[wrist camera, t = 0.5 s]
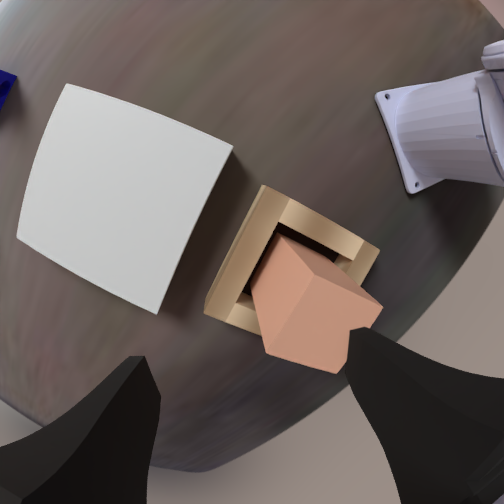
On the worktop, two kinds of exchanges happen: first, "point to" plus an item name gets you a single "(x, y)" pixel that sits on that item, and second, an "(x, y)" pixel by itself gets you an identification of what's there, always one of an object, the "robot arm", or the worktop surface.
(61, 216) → the platform
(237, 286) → the socket
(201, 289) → the worktop surface
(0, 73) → the cable clip
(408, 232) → the worktop surface
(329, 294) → the block
